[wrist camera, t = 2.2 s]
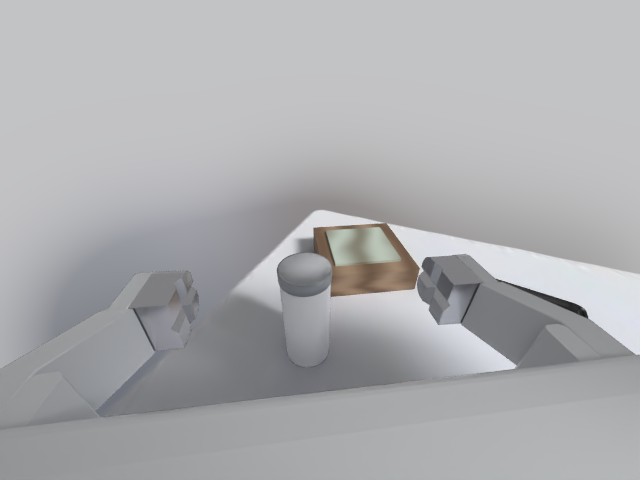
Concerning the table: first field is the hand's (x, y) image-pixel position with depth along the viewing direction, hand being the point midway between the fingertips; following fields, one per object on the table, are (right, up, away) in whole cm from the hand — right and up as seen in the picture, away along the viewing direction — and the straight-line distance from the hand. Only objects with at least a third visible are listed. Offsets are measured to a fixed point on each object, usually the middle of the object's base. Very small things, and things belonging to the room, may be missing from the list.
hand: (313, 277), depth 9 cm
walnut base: (+7, -3, +35) cm, 36 cm away
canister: (-1, -11, +21) cm, 24 cm away
